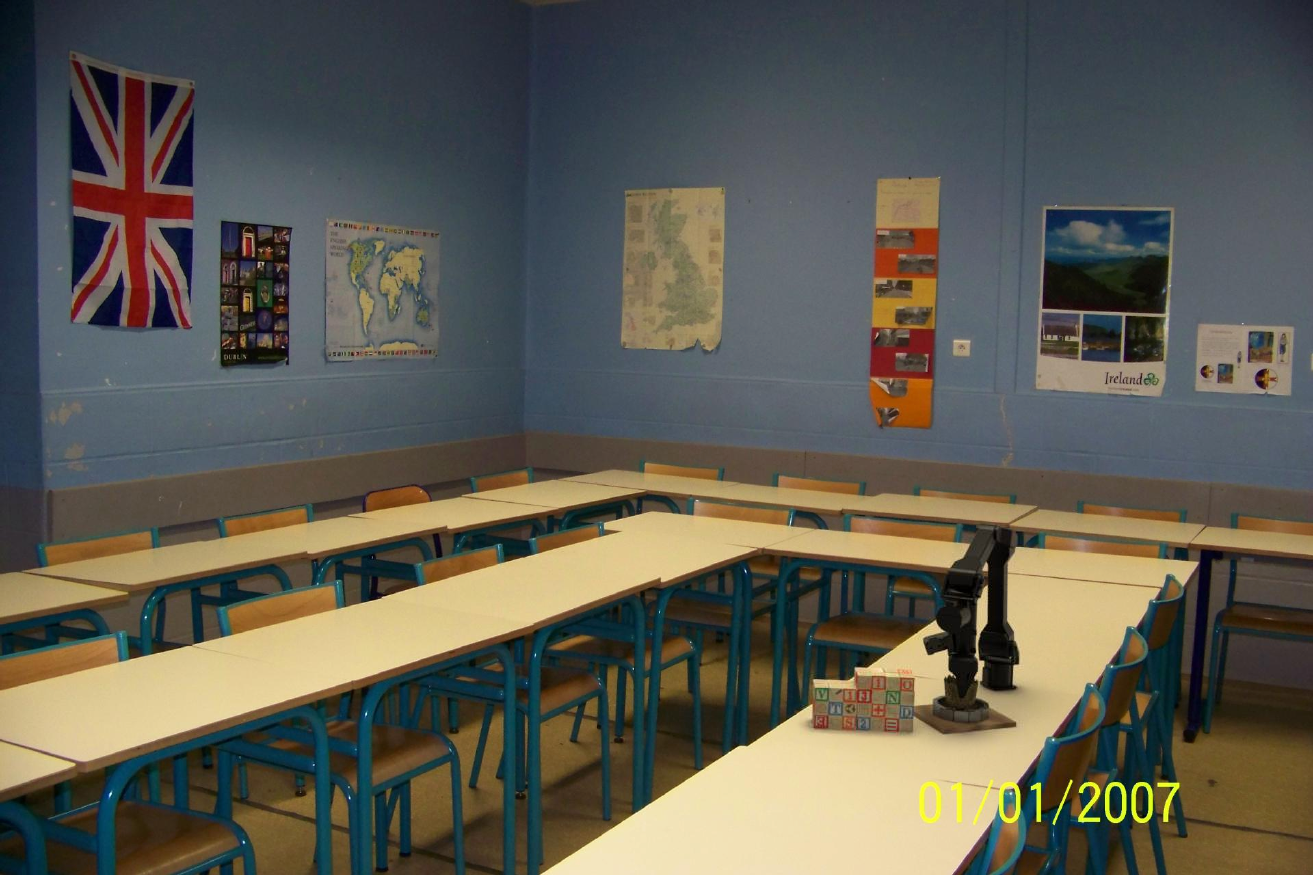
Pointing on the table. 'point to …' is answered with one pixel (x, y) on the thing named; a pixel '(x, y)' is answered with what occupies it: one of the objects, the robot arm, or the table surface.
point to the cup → (953, 696)
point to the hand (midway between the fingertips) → (960, 692)
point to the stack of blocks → (866, 701)
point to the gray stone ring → (961, 711)
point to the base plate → (946, 726)
